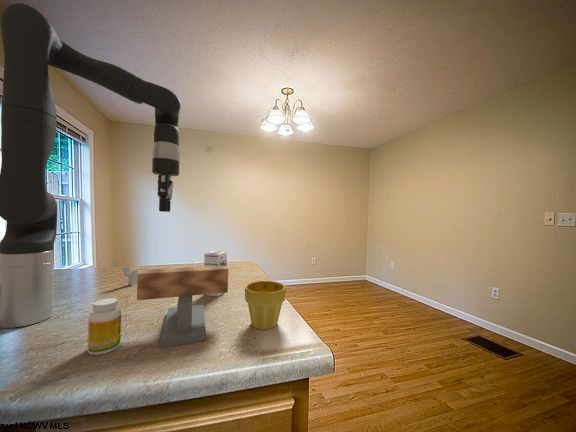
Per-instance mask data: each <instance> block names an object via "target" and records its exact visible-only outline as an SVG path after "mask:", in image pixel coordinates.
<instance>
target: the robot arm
mask: <svg viewBox="0 0 576 432" xmlns="http://www.w3.org/2000/svg"><path fill="white" fill-rule="evenodd" d="M0 30H1V31H0V32H1V37H2V38H1V39H2V47H3V55H4V56H3V58H4V59H3V61H4V64H3V77H2V98H1V110H0V111H1V113H0V127H1V128H0V129H1V130H0V131H1V132H0V133H1V134H0V135H1V136H0V151H1V152H0V153H1V165H0V166H1V167H0V217H1V219H3V220H4V221H5V222H6V226H5V227H6V229H5V234H4V236H3V238H2V239H1V240H0V328H1V329H2V328H3V329H13V328H20V327H25V326H30V325H34V324H37V323H40V322H43V321H46V320H47V319H49V318H51V317H52V316H53V309H54V308H53V306H54V305H53V302H54V301H53V300H54V299H53V297H54V294H53V292H54V253H55V252H54V248H55V241H56V238H57V233H58V232H57V231H58V230H57V229H58V203H57V201H56V198H55V197H54V195H52V193H49V192H48V191H47V190H48V189H47V181H46V179H47V176H46V173H47V172H46V171H47V165H48V161H49V158H50V155H51V153H52V151H53V148H54V145H55V143H56V142H55V141H56V135H57V108H56V102H55V98H54V93H53V91H52V86H51V83H50V77H49V66H51V67H54V68H56V69H59V70H62V71H65V72H68V73H70V74H71V75H75V76H78V77H80V78H82V79H85V80H87V81H90V82H92V83H94V84H96V85H98V86H100V87H102V88H104V89H107V90H109V91H111V92H112V93H114V94H117V95H118V96H120V97H123V98H125V99H127V100H128V101H131V102H132V103H135V104H138V105H142V104H145V105H148V106H150V107H153V108H154V121H155V122H154V123H155V126H154V131H153V146H152V156H151V157H152V161H151V162H152V163H151V166H152V167H151V173H153V174H154V175H157V178H158V179H157V193H156V194H157V197H158V200H159V201H158V211H159V212H161V213H162V212H164V213H165V212H167V213H168V212H171V202H172V198H173V188H174V181H173V180H171V179H172V177H178V176H179V175H180V158H181V157H180V155H181V152H180V151H181V150H180V131H179V120H180V111H181V106H182V104H181V100H180V98H179V97H178V96H177V94H175V93H174V91H172V90H170V89H169V88H167V87H164V86H161V85H159V84H155V83H153V82H149V81H146V80H144V79H142V78H141V77H139V76H137V75H135V74H134V73H132V72H130V71H128V70H127V69H124V68H122V67H120V66H118V65H116V64H112V63H110V62H106V61H102V60H100V59H95V58H93V57H90V56H87V55H85V54H84V53H81V52H79V51H78V50H76V49H74V48H73V47H71V46H70V45H68V44H67V43H66V42H64V41H63V40H61V38H60V37H59V35H58V33H57V31H56V30H55V28H54V27H53V24H51V22H50V21H49V19H48V18H47V17H46V16H45V15H44V14H43V13H41V12H40V11H39V10H38V9H37V8H34V7H33V6H31V5H29V4H26V3H18V2H17V3H16V2H15V3H12V4H10V5H7V6H6V7H4V9H3V10H2V12H1V15H0Z"/></svg>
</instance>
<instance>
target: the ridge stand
mask: <svg viewBox="0 0 576 432" xmlns="http://www.w3.org/2000/svg"><path fill="white" fill-rule="evenodd" d="M177 298H178V299H177V304H176V305H177V307H168V310H167V312H166V317H165V320H164V325H163V328H162V331H161V336H160V340H159V348H161V349H162V348H167V347H174V346H181V345H186V344H193V343H200V342H206V341H207V330H206V321H205V319H206V318H205V311H204V310H205V309H204V304H197V305H193V295H192V296H181V297H177Z"/></svg>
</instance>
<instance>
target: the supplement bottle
mask: <svg viewBox="0 0 576 432" xmlns="http://www.w3.org/2000/svg"><path fill="white" fill-rule="evenodd" d="M118 301H119V300H118V298H116V297H115V298H114V297H109V298H103V299H98V300H96V301H94V302H93V303H92V311H93V312H91V313H90V314H89V316H88V318H87V319H88V320H87V353H88V354H89V355H95V356H99V355H104V354H108V353H111V352H112V351H115V350H116V349H118V348H119V346H120V345H121V335H122V334H121V331H122V311H121V309H120V308H118V305H119V303H118Z"/></svg>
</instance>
